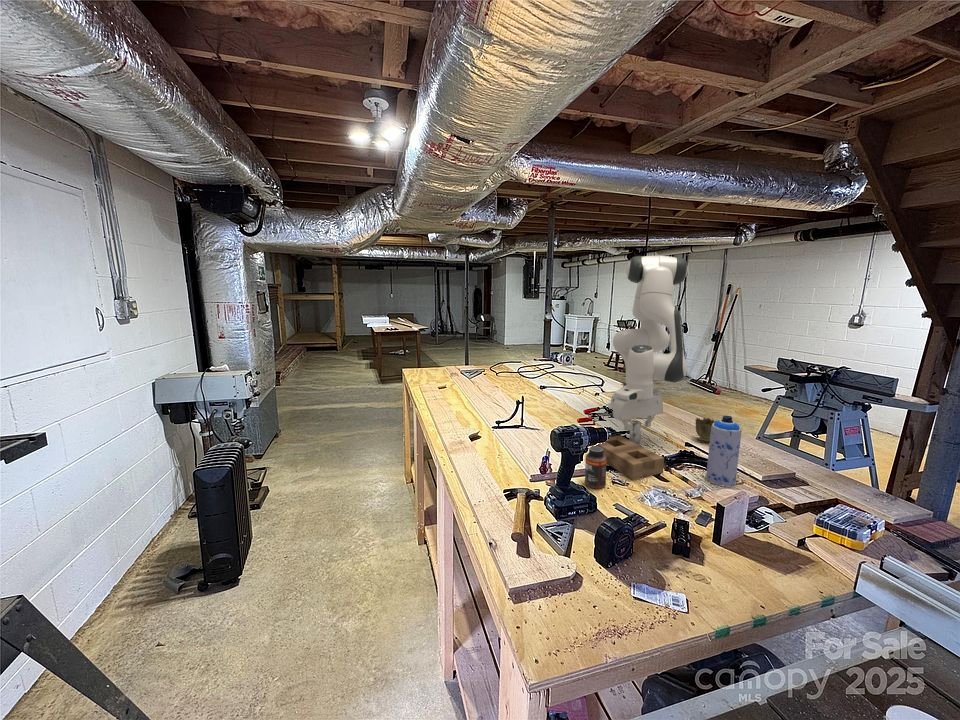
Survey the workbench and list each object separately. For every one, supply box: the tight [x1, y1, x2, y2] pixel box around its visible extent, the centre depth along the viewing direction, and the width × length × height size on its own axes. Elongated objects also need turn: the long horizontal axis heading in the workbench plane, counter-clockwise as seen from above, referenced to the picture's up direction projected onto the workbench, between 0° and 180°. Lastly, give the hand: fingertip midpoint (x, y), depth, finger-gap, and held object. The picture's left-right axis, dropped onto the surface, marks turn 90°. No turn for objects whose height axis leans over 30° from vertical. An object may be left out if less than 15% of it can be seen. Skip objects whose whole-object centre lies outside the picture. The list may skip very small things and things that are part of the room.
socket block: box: [596, 435, 665, 481], centre depth 125 cm, size 20×12×5 cm, turn 21°
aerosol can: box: [705, 415, 743, 487], centre depth 112 cm, size 8×8×20 cm
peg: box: [628, 419, 642, 446], centre depth 139 cm, size 4×4×9 cm
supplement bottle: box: [584, 445, 607, 490], centre depth 111 cm, size 6×6×11 cm
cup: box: [695, 417, 717, 443], centre depth 142 cm, size 8×7×8 cm
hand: (637, 428), depth 138 cm, fingers open, 8 cm apart
